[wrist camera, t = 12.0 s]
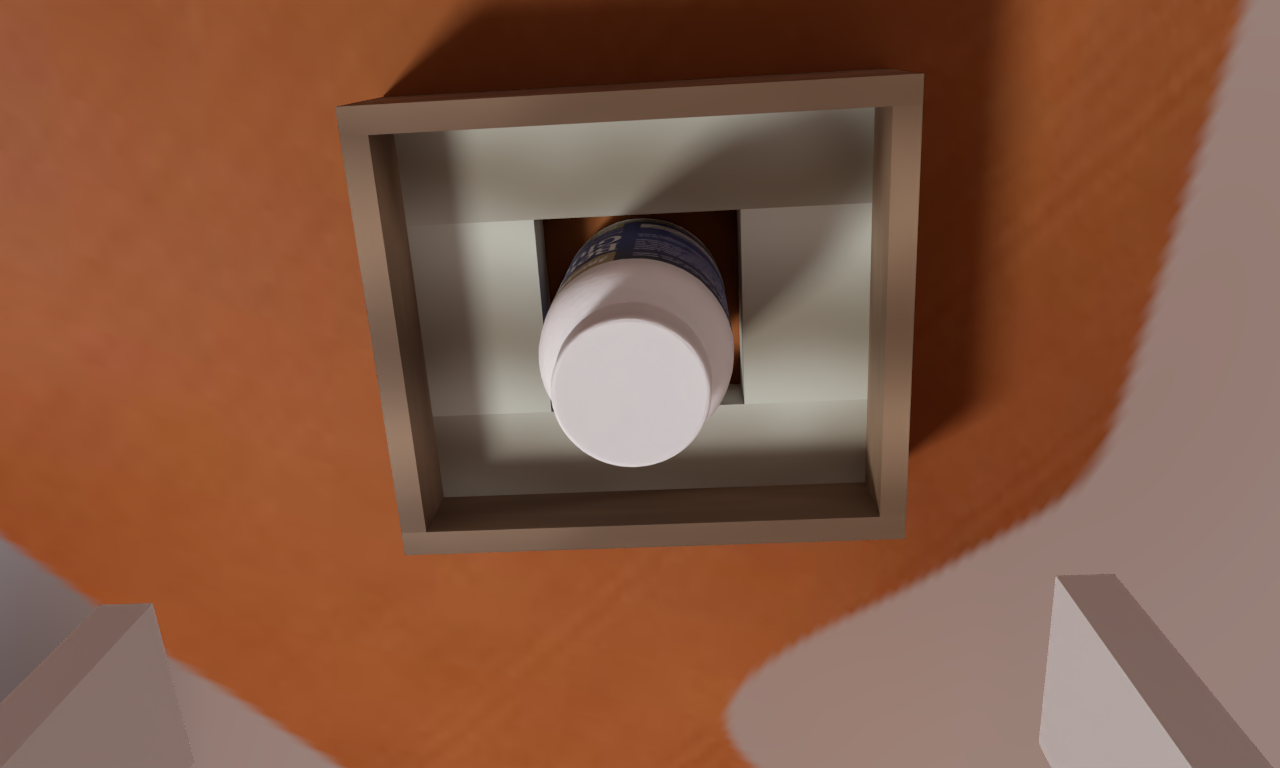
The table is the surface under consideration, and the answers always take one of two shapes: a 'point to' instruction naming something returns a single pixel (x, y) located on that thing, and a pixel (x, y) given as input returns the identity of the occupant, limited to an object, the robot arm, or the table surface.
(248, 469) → the table surface
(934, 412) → the table surface
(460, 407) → the box
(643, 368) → the pill bottle
